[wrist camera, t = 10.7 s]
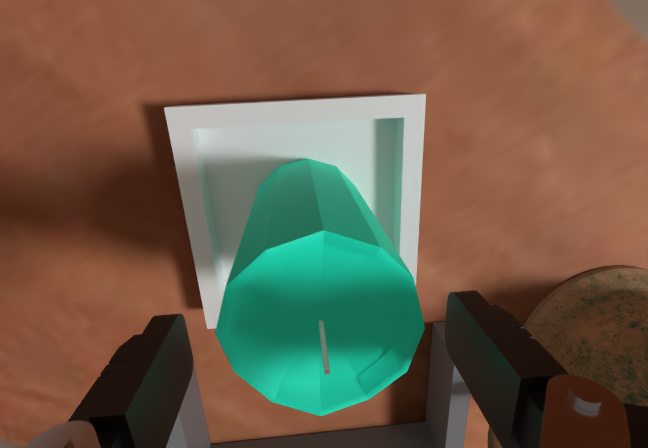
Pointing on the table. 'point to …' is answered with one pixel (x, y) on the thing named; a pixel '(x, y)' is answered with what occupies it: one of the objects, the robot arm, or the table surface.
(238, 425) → the table surface
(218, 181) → the white square tray
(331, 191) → the candle
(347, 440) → the bay
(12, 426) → the table surface
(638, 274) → the mug
